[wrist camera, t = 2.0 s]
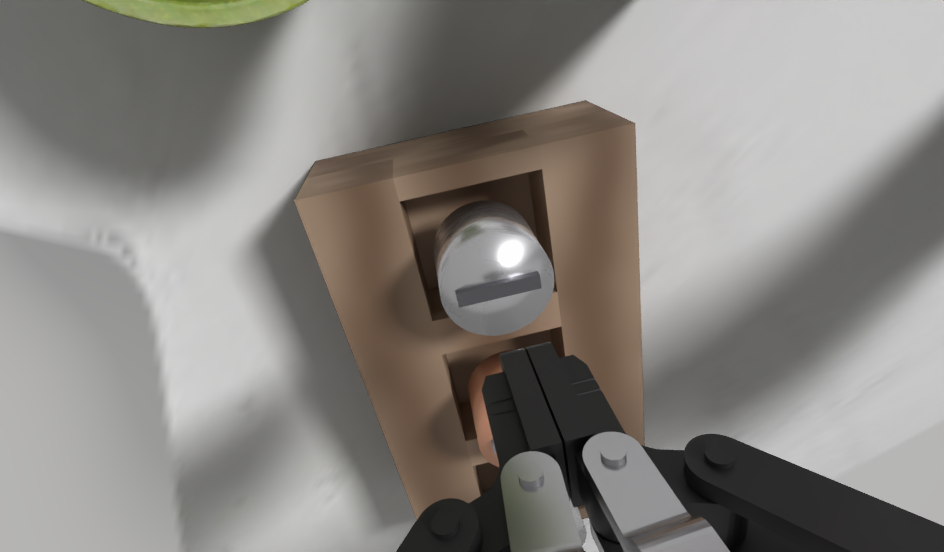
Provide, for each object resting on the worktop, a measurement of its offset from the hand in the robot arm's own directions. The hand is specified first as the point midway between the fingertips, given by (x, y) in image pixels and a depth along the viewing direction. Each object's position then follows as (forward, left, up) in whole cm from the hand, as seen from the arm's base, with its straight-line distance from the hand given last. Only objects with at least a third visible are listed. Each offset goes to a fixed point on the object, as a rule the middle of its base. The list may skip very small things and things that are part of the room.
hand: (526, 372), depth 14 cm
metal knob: (0, 0, -9) cm, 9 cm away
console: (0, +8, -15) cm, 17 cm away
